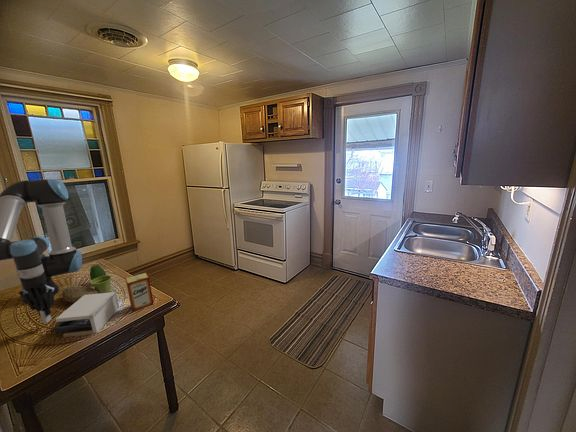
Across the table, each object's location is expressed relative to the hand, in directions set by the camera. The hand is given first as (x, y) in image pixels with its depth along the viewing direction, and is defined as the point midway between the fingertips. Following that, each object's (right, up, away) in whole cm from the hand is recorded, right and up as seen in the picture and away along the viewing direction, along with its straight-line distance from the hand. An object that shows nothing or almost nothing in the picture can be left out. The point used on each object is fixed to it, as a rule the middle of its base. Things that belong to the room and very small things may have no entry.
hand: (47, 321), depth 111 cm
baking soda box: (+34, +2, +16) cm, 38 cm away
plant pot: (+5, +4, +27) cm, 28 cm away
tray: (+15, -2, +2) cm, 15 cm away
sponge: (-3, +2, +22) cm, 23 cm away
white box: (+18, -2, +4) cm, 18 cm away
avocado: (-7, +7, +40) cm, 41 cm away
